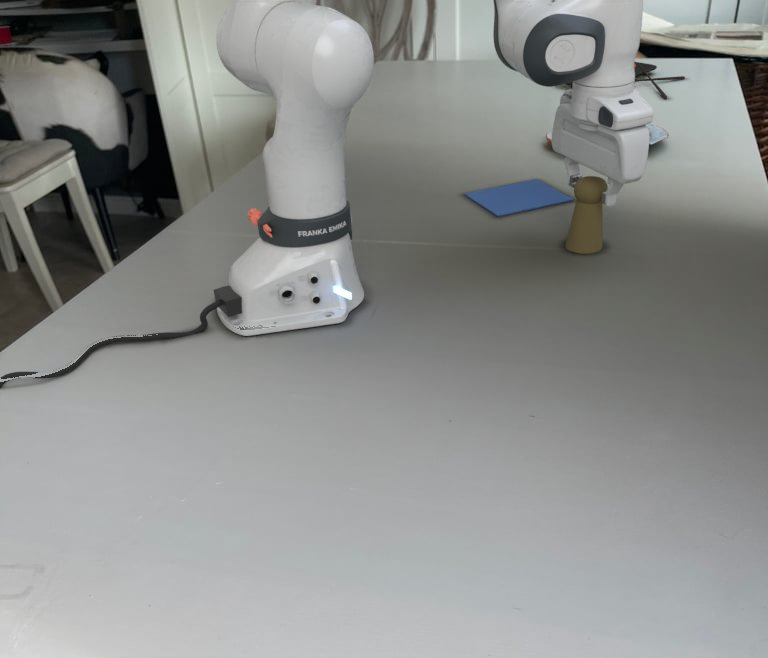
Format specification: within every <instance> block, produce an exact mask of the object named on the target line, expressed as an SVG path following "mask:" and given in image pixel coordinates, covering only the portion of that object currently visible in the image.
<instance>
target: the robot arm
mask: <svg viewBox="0 0 768 658" xmlns="http://www.w3.org/2000/svg"><path fill="white" fill-rule="evenodd" d="M317 1H318V0H232V1H231V3H230V4H229V5H228V7H227V8H226V9H225V10H224V11H223V13H222V15H221V17H220V19H219V21H218V24H217V28H216V35H215V43H216V44H215V45H216V50H217V53H218V57H219V59H220V61H221V64H222V65H223V67H224V68H225V69H226V70H227V72H228V73H229V74H231V75H232V76H233V77H234V78H235V79H236V80H237V81H239V82H240V83H241V84H244V85H245V86H246V87H247V88H249V89H251V90H253V91H256V92H260V93H262V94H266V95H269V96H273V98H274V100H275V105H276V108H275V109H276V112H275V113H276V115H275V124H274V130H273V135H272V137H270V138H269V139H268V141H266V143H265V144H264V147H263V150H262V163H263V171H264V177H265V185H266V186H265V187H266V195H267V201H268V206H267V208H266V209H265V210H264V212H263V213H262V212H261V210H259V208H257V207H253V208H250V209H249V210H248V212H247V218H248V220H249V221H250V223H251V224H252V225H253V226H256V227H257V229H258V234H259V236H258V237H257V239H255V240H254V242H253V243H251V245H250V246H249V247H248V248H247V249H246V250H245V251H244V252H243V253H242V254H241V255H240V256H239V257H238V258H237V259H236V260H235V261H233V263H232V264H231V266H230V269H229V273H228V284H227V285H225V286H222V287H221V286H220V287H218V288H217V287H216V288H215V289H213V295H214V300H215V301H214V302H212V303H210V304H209V305H207V306H205V307H204V308H203V309H202V311H201V312H200V314H199V321H200V324H199V326H197V327H196V328H195V329H192V330H188V331H181V332H180V331H179V332H178V331H177V332H175V331H173V332H169V331H168V332H167V331H166V332H154V333H147V336H146V334H142V335H143V337H121V338H113V339H108V340H105V341H102V342H99V343H97V344H95V345H93V346H92V347H90V348H89V349H88V350H87V351H86V352H85V353H84V354H83V355H82V356H81V357H80V358H79V359H78V360H77V361H76V362H75V363H73V364H72V365H70V366H69V367H67V368H65V369H62V370H60V371H58V372H55V373H52V374H49V375H45V376H41V377H35V378H34V379H51V378H52V379H53V378H57V377H60V376H63V375H66V374H67V373H69V372H72V371H73V370H74V369H75V368H77V367H78V366H79V365H80V364H81V363H83V361H84V360H85V359H86V358H87V357H88V356H89V355H90V354H91V353H93V352H94V351H95V350H98V349H99V348H101V347H105V346H107V345H111V344H117V343H125V342H127V343H129V342H130V343H131V342H149V341H156V340H166V339H167V340H173V339H180V338H185V337H189V336H193V335H197V334H201V333H203V332H204V331H205V330H206V329H207V327H208V325H209V324H208V323H209V322H208V319H207V316H208V314H209V313H211V312H212V311H214V310H216V313H217V316H218V317H219V320H220V321H221V323H222V324H223V325H224V326H225V328H227V329H228V330H229V331H231V332H233V333H235V334H237V335H240V336H243V337H249V336H251V337H252V336H256V335H257V336H258V335H264V334H271V333H279V332H287V331H293V330H299V329H300V330H301V329H307V328H308V329H309V328H315V327H322V326H328V325H335V324H336V325H337V324H340V323H343V322H345V321H346V320H347V318H348V316H349V313H351V312H352V311H353V310H354V309H356V308H357V307H358V306H359V305H360V304H361V303H362V302H363V301H364V298H365V290H364V288H363V285H362V283H361V280H360V277H359V273H358V269H357V265H356V262H355V261H356V260H355V257H354V252H353V246H352V240H353V216H352V210H351V204H350V201H349V200H348V199H347V187H346V170H345V141H346V134H347V128H348V123H349V119H350V116H351V113H352V110H353V108H354V107H355V105H356V103H357V102H358V101H359V100H360V99H361V98H362V97H363V96H364V95H365V93H366V91H367V90H368V88H369V86H370V83H371V80H372V78H373V73H374V66H375V55H374V47H373V44H372V41H371V39H370V36H369V34H368V32H367V31H366V29H365V28H364V27H363V26H362V25H361V24H360V23H358V22H357V21H355V20H354V19H352V18H351V17H349V16H348V15H346V14H344V13H343V12H340V11H339V10H336V9H335V8H332V7H329V6H324V5H317ZM493 9H494V13H493V14H494V16H493V33H492V34H493V46H494V50H495V53H496V56H497V57H498V59H499V60H500V61H501V63H502V64H503V65H504V66H505V67H506V68H508V69H510V70H512V71H514V72H517V73H519V74H521V75H522V76H523V77H525V78H526V79H528V80H530V81H531V82H532V83H534V84H536V85H539V86H542V87H547V88H548V87H549V88H553V87H554V88H555V87H558V86H562V85H566V83H570V82H573V86H572V88H570V89H566V91H564V92H563V93H562V95H560V98H559V105H558V107H557V109H556V111H555V115H554V120H553V127H552V131H553V132H552V140H551V142H550V143H551V146H552V150H553V152H556V153H557V154H560V155H562V156H563V157H564V165H565V169H566V173H567V185H568V186H569V187H570V188H572V189H574V187H575V184H576V182H577V181H578V180H579V179H580V178H582V177H583V174H581V171H580V165H582V166H584V167H586V168H588V169H590V170H592V171H594V172H596V173H597V174H598V173H599V174H600V175H602V176H604V177H607V180H606V183H607V185H608V189H607V191H606V192H603V193H602V200H601V202H602V203H603V205H604V206H607V207H612V206H615V205H616V204H617V199H618V194H619V193H620V191H621V190H622V188H623V186H624V185H626V184H630V183H635V182H638V181H640V180H641V178H643V176H644V175H645V172H646V169H647V168H646V167H647V163H648V156H649V148H650V144H649V130H648V128H647V126H646V124H648V125H650V124H651V123H653V120H654V114H655V113H654V108H653V107H652V106H651V105H650V104H649V103H648V102H647V100H646V99H644V98H643V96H642V95H641V93H640V92H639V91H638V89H637V88H635V82H636V81H635V80H636V77H635V71H634V62H636V61H635V59H636V56H637V54H638V51H639V48H640V45H641V44H640V43H641V35H642V26H643V13H644V0H555V1H553V2H552V1H550V0H493ZM259 325H260V326H259ZM261 325H262V326H263V327H269V328H262V329H255V330H240V328H239V326H240V327H241V328H242V327H243V328H244V329H245V327H248V328H250V327H253V326H255V327H257V326H258V327H261ZM233 326H234V327H233ZM244 326H245V327H244ZM249 326H250V327H249ZM271 326H276V327H271ZM235 327H236V328H235ZM237 328H239V329H237ZM253 328H254V327H253ZM156 334H158V335H156ZM126 335H127V334H126ZM130 335H131V336H132V335H133V336H134V335H135V336H136V335H137V334H128V335H127V336H130ZM144 335H145V336H144ZM148 335H152V336H148ZM115 336H116V337H117V336H118V335H115ZM38 372H39V371H13V372H9V373H6V374H4V375H2V376H1V377H0V378H1V379H7V378H13V377H14V378H15V377H19V376H25V375H26V376H27V375H32V374H36V373H38ZM12 380H14V379H12ZM12 380H8V381H4V382H0V389H1V388H2V387H3V386H4V385H5V384H6V383H8V382H11V381H12Z"/></svg>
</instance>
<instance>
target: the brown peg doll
mask: <svg viewBox="0 0 768 658" xmlns="http://www.w3.org/2000/svg"><path fill="white" fill-rule="evenodd" d="M608 187H609V185H608V183H607V180H605V179H604V178H603V177H600V176H595V175H588V176H582V178H580V179H579V180H578V181H577V182H576V184H575V187H574V188H573V194H574V198H575V203H574V208H573V212H572V216H571V220H570V225H569V229H568V234H567V238H566V241H565V248H566V249H567V250H568V251H570V252H572V253H575V254H589V255H590V254H594V253H598V252H600V251H601V250H602V249H603V248H604V247H603V244H604V242H603V233H604V232H603V231H604V230H603V228H604V227H603V225H604V223H603V220H604V219H603V216H604V215H603V214H604V213H603V210H604V209H603V208H604V206H603V205H604V204H603V203H602V202H601V200H602V193H603V192H606V191H607V189H608Z"/></svg>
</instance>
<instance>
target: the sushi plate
mask: <svg viewBox="0 0 768 658" xmlns="http://www.w3.org/2000/svg"><path fill="white" fill-rule="evenodd" d="M657 68H658V65H655V64H651V63H644V62H638V61H634V71H635V78H638V77H640V76H642V75H644V74H645V76H646V77H647V78H640V79H635V82H651V83H652V84H653V86H654V88H656V90H657V91H658V92H659V94H660V96H662V98H663V100H667V99H668V95H667V94H666V93H665V92H664V91H663V89H662V88H661V87H660V86H659V85H658V84H657V83H656V82H655V81H673V80H674V81H675V80H676V81H677V80H685V78H686V76H683V75H681V76H665V77H652V78H651V76H650V75H649V73H650V72H652V71H655V70H656V69H657ZM565 85H567V86H569V87H570V89H572V86H573V82H570V83H566V84H565Z"/></svg>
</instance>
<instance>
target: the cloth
mask: <svg viewBox="0 0 768 658" xmlns="http://www.w3.org/2000/svg"><path fill="white" fill-rule="evenodd" d="M464 196H465V197H467V198H468V199H470V200H471V201H472V202H474V203H476V204H477V205H479V206H480V207H481V208H483V209H485V210H486V211H488V213H491V214H493V215H494V216H495V217H497V218H500V217H505V216H509V215H514V214H519V213H522V212H529V211H532V210H536V209H542V208H547V207H551V206H555V205H560V204H565V203H570V202H573V201H574V199H573V198H572V197H570V196H568V195H566V194H564V193H563V192H562V191H559V190H557V189H555V188H554V187H552V186H550V185H549V184H546V183H545V182H544V181H541V180H539V179H537V178H534V179H531V180H526V181H521V182H520V181H519V182H515V183H512V184H511V183H510V184H505V185H501V186H495V187H491V188H485V189H481V190H476V191H471V192H465V193H464Z"/></svg>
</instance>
